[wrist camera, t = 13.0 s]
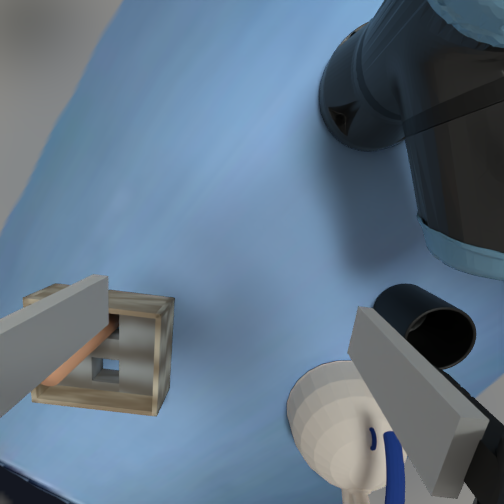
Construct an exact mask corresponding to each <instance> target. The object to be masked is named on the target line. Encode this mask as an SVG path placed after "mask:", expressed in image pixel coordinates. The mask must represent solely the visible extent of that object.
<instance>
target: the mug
mask: <svg viewBox="0 0 504 504" xmlns="http://www.w3.org/2000/svg"><path fill="white" fill-rule="evenodd" d="M374 310H375V311H376V312H377V313H378V314H379V315H380V316H381V317H382V318H383V319H385V320H386V321H387V322H388V323H389V324H390V325H391V326H392V327H393V328H394V329H395V330H396V331H397V332H398V333H399V334H400V335H401V336H402V337H403V338H404V339H405V340H406V341H407V342H409V343H410V344H411V345H412V346H413V347H414V348H415V349H416V350H417V351H418V352H419V353H420V354H421V355H422V356H423V357H424V358H425V359H426V360H427V361H428V362H429V363H430V364H432V365H435V366H436V367H438V368H440V369H441V370H443V369H447V368H450V367H453V366H455V365H456V364H458V363H460V362H461V361H462V360H463V359H465V358H466V357H467V355H468V354H469V353H470V352H471V350H472V348H473V346H474V344H475V340H476V328H475V325H474V323H473V321H472V319H471V318H470V317H469V316H468V315H467V314H466V313H465V312H463V311H462V310H460V309H458V308H456V307H455V306H453V305H451V304H449V303H447V302H446V301H444V300H442V299H440V298H438V297H437V296H435V295H433V294H431V293H429V292H428V291H426V290H424V289H422V288H420V287H418V286H416V285H412V284H399V285H395V286H393V287H390V288H389V289H387V290H386V291H384V292H383V293H382V294H381V295H380V296H379V298H378V299H377V301H376V303H375V306H374Z"/></svg>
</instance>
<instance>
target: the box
mask: <svg viewBox="0 0 504 504" xmlns="http://www.w3.org/2000/svg"><path fill="white" fill-rule="evenodd" d="M68 286H70V285H65V284H53V285H51V286H49V287H46V288H44V289H42V290H39V291H37V292H35V293H33V294H30V295H28V296H26V297H23V307H26V306H29V305H31V304H33V303H35V302H37V301H39V300H41V299H43V298H45V297H47V296H49V295H51V294H54V293H56V292H58V291H60V290H62V289H64V288H66V287H68ZM174 300H175V298H173V297H164V296H156V295H148V294H139V293H131V292H123V291H115V290H108V308H109V313H112V314H119V329H116V330H115V331H114V332H113V333H112V334H111V335H110V336H109V337H107V338H106V339H105V340H104V341H103V342H102V343H101V344H100V345H99V346H98V347H97V348H96V349H95V350H94V351H93V352H92V353H90V354H89V355H88V356H87V357H86V358H85V359H84V360H83V361H82V362H81V363H80V364H79V365H78V366H77V367H76V368H75V369H73V370H72V371H71V372H70V373H69V374H68V375H67V376H66V377H65V378H64V379H63V380H62V381H61V382H60V383H59V384H57V385H55V386H45V385H42V384H41V383H40V384H39V385H38V386H37V387H36V388H34V389H33V390H32V391H31V396H32V402H35V403H44V404H52V405H61V406H70V407H79V408H87V409H96V410H105V411H113V412H122V413H131V414H139V415H148V416H157V415H158V413H159V410H160V408H161V406H162V404H163V402H164V399H165V397H166V395H167V393H168V390H169V388H170V371H171V354H172V336H173V318H174ZM103 358H104V359H112V360H119V371H118V370H110V369H103Z"/></svg>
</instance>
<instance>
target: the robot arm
mask: <svg viewBox="0 0 504 504" xmlns="http://www.w3.org/2000/svg"><path fill="white" fill-rule="evenodd" d="M319 102H320V110H321V114H322V117H323V120H324V122H325V124H326V126H327V128H328V129H329V131H330V132H331V134H332V135H333V136H334V137H335V138H336V139H337V140H338V141H340V142H341V143H342V144H344V145H346V146H348V147H350V148H352V149H356V150H360V151H377V150H382V149H385V148H388V147H390V146H393V145H395V144H398V143H400V142H402V141H403V140H405V143H406V148H407V153H408V158H409V163H410V169H411V174H412V180H413V186H414V191H415V197H416V203H417V209H418V212H417V219H418V221H419V223H420V225H421V226H422V229H423V233H424V237H425V241H426V245H427V247H428V249H429V251H430V252H431V254H432V255H433V256H434V257H436V258H437V259H439V260H441V261H442V262H443V263H444V264H446V265H447V266H449V267H452V268H454V269H456V270H459V271H462V272H465V273H468V274H472V275H476V276H480V277H485V278H490V279H496V280H503V281H504V0H384V2H383V3H382V5H381V6H380V8H379V9H378V11H377V13H376V14H375V16H374V17H373V18H372V19H371V20H370V21H369V22H367V23H365V24H363V25H361V26H360V27H358V28H357V29H355V30H354V31H353V32H351V33H350V34H349V35H348V36H347V37H346V38H345V39H344V40H343V41H342V42H341V43H340V45H339V46H338V47H337V49H336V50H335V52H334V53H333V55H332V57H331V59H330V61H329V62H328V64H327V66H326V68H325V71H324V73H323V76H322V80H321V84H320V92H319ZM108 324H109V308H108V276H103V275H95V274H93V275H91V276H89V277H87V278H85V279H83V280H81V281H79V282H77V283H74V284H72V285H70V286H68V287H66V288H64V289H62V290H60V291H58V292H56V293H54V294H51V295H49V296H47V297H45V298H43V299H41V300H39V301H37V302H35V303H33V304H31V305H29V306H26V307H24V308H22V309H20V310H18V311H16V312H14V313H12V314H10V315H8V316H6V317H4V318H1V319H0V418H1V417H2V416H3V415H4V414H6V413H7V412H8V411H9V410H10V409H11V408H12V407H14V406H15V405H16V404H17V403H18V402H19V401H21V400H22V399H23V398H24V397H25V396H26V395H27V394H29V393H30V392H31V391H32V390H33V389H34V388H36V387H37V386H38V385H39V384H40V383H41V382H42V381H44V380H45V379H46V378H47V377H48V376H49V375H51V374H52V373H53V372H54V371H55V370H56V369H57V368H59V367H60V366H61V365H62V364H63V363H64V362H66V361H67V360H68V359H69V358H70V357H71V356H72V355H74V354H75V353H76V352H77V351H78V350H79V349H81V348H82V347H83V346H84V345H85V344H86V343H87V342H89V341H90V340H91V339H92V338H93V337H94V336H96V335H97V334H98V333H99V332H100V331H101V330H102V329H104V328H105V327H106V326H107V325H108ZM347 353H348V354H349V356H350V358H351V360H352V361H353V363H354V365H355V366H356V368H357V370H358V372H359V373H360V375H361V377H362V378H363V380H364V382H365V384H366V385H367V387H368V389H369V390H370V392H371V394H372V396H373V397H374V399H375V401H376V402H377V404H378V406H379V407H380V409H381V411H382V413H383V414H384V416H385V418H386V419H387V421H388V423H389V425H390V426H391V428H392V430H393V431H394V433H395V435H396V437H397V438H398V440H399V442H400V443H401V445H402V447H403V449H404V450H405V452H406V454H407V455H408V457H409V459H410V460H411V462H412V464H413V466H414V467H415V469H416V471H417V472H418V474H419V476H420V478H421V479H422V481H423V483H424V484H425V486H426V488H427V490H428V491H429V493H430V495H431V496H438V497H447V498H456V499H457V498H458V496H459V493H460V491H461V489H462V486H463V484H464V482H465V483H466V484H467V486H468V487H469V489H470V490H471V492H472V493H473V494H474V495H475V499H474V502H473V504H504V425H503V424H502V423H501V422H499V421H498V420H497V419H496V418H495V417H494V416H493V415H492V414H491V413H489V411H488V410H487V409H485V408H484V407H483V406H482V405H481V404H480V403H479V402H478V401H477V400H476V399H475V398H474V397H471V396H470V394H469V393H468V392H467V391H466V390H465V389H464V388H463V387H460V384H458V383H457V382H456V381H455V380H454V379H453V378H452V377H451V376H450V375H449V374H447V373H446V372H444V371H443V370H441V369H440V368H438V367H436V366H435V365H432V364H430V363H429V362H428V361H427V360H426V359H425V358H424V357H423V356H422V355H421V354H420V353H419V352H418V351H417V350H416V349H415V348H414V347H413V346H412V345H411V344H410V343H409V342H407V341H406V340H405V339H404V338H403V337H402V336H401V335H400V334H399V333H398V332H397V331H396V330H395V329H394V328H393V327H392V326H391V325H390V324H389V323H388V322H387V321H386V320H385V319H383V318H382V317H381V316H380V315H379V314H378V313H377V312H376V311H375V310H374V309H373V308H367V307H359V306H358V310H357V314H356V318H355V322H354V327H353V331H352V335H351V339H350V344H349V348H348V352H347Z"/></svg>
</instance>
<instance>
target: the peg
mask: <svg viewBox="0 0 504 504" xmlns="http://www.w3.org/2000/svg"><path fill="white" fill-rule="evenodd" d="M118 327H119V314H112V313H109V324H108V325H107V326H106V327H105V328H104V329H102V330H101V331H100V332H99V333H98V334H97V335H96V336H94V337H93V338H92V339H91V340H90V341H89V342H87V343H86V344H85V345H84V346H83V347H82V348H81V349H79V350H78V351H77V352H76V353H75V354H74V355H72V356H71V357H70V358H69V359H68V360H67V361H66V362H64V363H63V364H62V365H61V366H60V367H59V368H57V369H56V370H55V371H54V372H53V373H52V374H51V375H49V376H48V377H47V378H46V379H45V380H44V381H42V382H41V384H42V385H45V386H55V385H57V384H59V383H60V382H61V381H62V380H63V379H64V378H65V377H66V376H67V375H68V374H69V373H70V372H71V371H72V370H73V369H75V368H76V367H77V366H78V365H79V364H80V363H81V362H82V361H83V360H84V359H85V358H86V357H87V356H88V355H89V354H90V353H92V352H93V351H94V350H95V349H96V348H97V347H98V346H99V345H100V344H101V343H102V342H103V341H104V340H105V339H106V338H107V337H109V336H110V335H111V334H112V333H113V332H114V331H115V330H116V329H117V328H118Z"/></svg>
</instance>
